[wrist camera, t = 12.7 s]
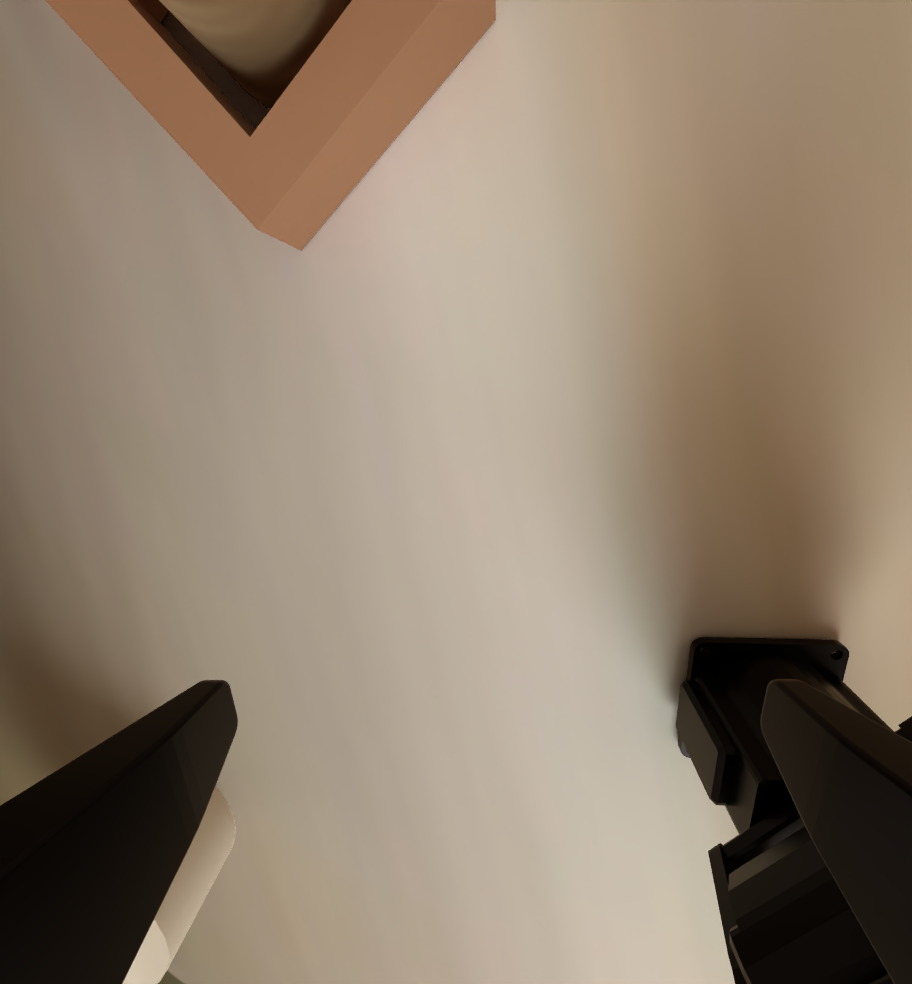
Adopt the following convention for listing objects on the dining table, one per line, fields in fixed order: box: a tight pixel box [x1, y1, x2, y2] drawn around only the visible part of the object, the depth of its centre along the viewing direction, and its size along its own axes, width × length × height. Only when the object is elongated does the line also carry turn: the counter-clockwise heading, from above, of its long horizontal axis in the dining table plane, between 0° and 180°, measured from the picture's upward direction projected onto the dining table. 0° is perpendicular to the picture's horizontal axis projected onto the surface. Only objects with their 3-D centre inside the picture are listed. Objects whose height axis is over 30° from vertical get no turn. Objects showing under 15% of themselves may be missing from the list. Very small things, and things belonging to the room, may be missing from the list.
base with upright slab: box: [123, 788, 236, 984], centre depth 23 cm, size 9×9×12 cm
